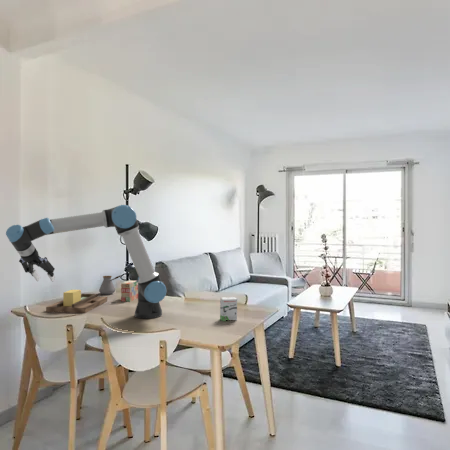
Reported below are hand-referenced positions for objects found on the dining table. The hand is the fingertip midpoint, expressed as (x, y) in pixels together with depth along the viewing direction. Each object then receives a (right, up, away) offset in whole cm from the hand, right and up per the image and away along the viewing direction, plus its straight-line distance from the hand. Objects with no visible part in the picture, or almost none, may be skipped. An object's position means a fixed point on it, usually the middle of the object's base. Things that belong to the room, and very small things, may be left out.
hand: (46, 279), depth 203 cm
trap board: (+3, -22, +37) cm, 43 cm away
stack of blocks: (+31, -22, +62) cm, 72 cm away
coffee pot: (+13, -22, +75) cm, 79 cm away
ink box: (+97, -23, +5) cm, 100 cm away
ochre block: (+3, -19, +29) cm, 35 cm away
